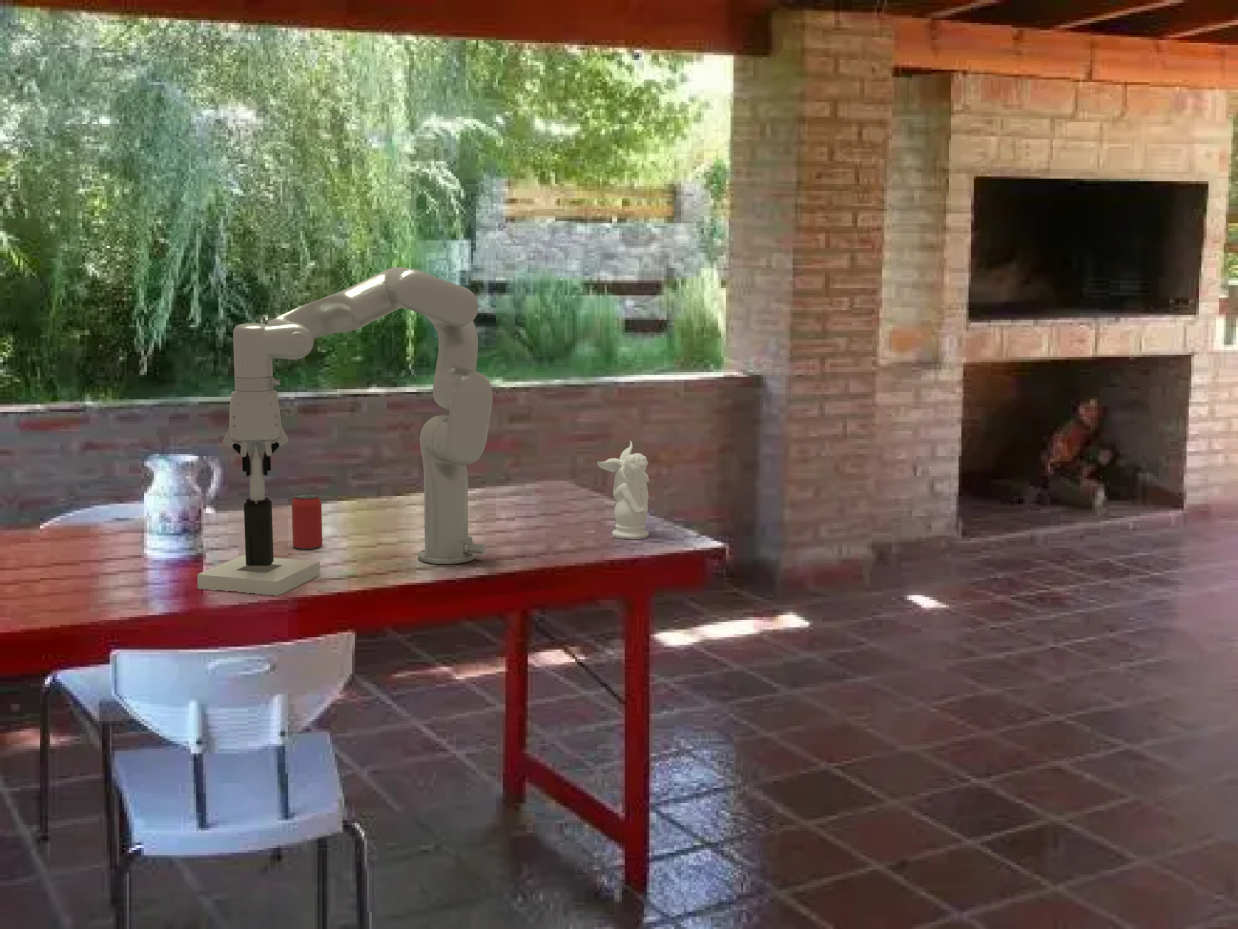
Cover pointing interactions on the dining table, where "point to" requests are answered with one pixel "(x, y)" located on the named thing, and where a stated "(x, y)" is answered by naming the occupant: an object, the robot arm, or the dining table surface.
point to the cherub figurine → (629, 494)
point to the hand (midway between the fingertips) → (256, 473)
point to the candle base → (259, 576)
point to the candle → (258, 516)
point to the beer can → (307, 521)
